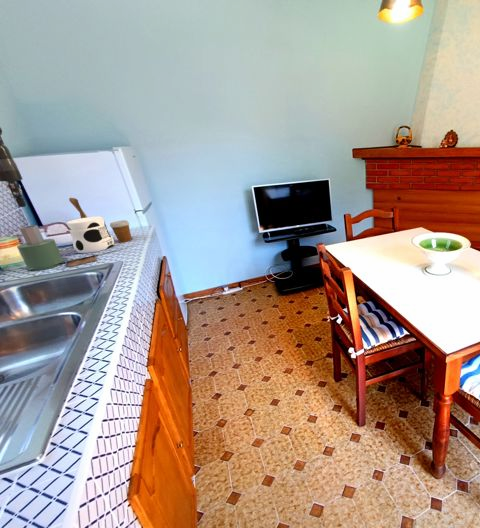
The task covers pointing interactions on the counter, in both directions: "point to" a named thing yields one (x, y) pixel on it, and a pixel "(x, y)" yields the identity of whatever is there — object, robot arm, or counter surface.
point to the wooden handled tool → (77, 207)
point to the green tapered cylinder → (41, 255)
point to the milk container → (90, 235)
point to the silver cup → (32, 235)
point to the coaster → (81, 261)
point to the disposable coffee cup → (121, 230)
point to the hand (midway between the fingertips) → (22, 205)
